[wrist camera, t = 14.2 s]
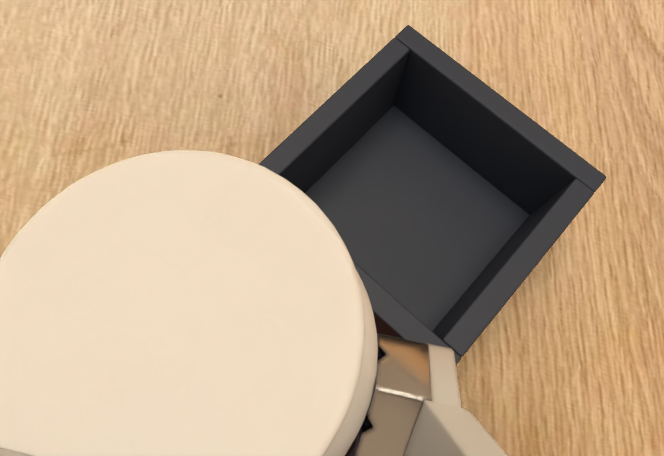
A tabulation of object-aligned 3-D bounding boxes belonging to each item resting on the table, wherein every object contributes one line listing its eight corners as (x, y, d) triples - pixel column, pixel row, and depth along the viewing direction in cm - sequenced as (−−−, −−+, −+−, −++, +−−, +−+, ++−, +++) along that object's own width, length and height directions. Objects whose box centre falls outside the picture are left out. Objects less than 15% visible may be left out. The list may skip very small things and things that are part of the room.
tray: (264, 564, 18) (250, 620, 14) (92, 380, 20) (29, 376, 15) (549, 218, 22) (608, 176, 18) (389, 91, 24) (408, 23, 20)
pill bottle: (344, 271, 17) (391, 103, 7) (358, 466, 15) (445, 592, 5) (162, 280, 16) (-46, 117, 7) (154, 481, 14) (-143, 642, 5)
